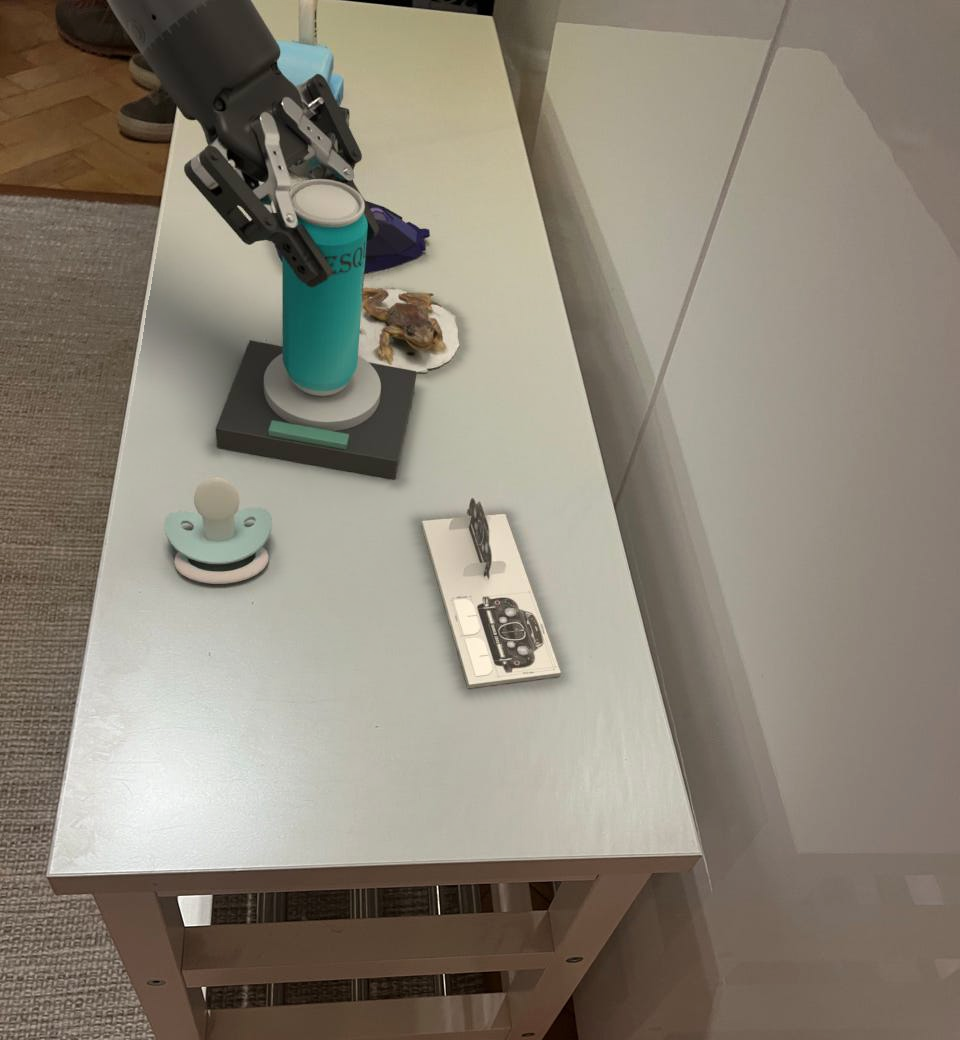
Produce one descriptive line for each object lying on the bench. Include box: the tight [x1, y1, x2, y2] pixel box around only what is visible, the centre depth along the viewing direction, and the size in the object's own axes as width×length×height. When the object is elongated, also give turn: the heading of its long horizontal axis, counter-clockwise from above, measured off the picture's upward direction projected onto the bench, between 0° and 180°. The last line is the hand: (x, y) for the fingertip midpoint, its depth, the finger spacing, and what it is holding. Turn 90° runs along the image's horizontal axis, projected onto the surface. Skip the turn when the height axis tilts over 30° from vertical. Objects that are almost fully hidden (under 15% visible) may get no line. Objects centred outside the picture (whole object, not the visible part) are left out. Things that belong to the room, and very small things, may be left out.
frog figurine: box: [358, 287, 461, 374], centre depth 87 cm, size 12×12×4 cm
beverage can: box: [281, 179, 368, 396], centre depth 72 cm, size 6×6×15 cm
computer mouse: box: [274, 200, 431, 275], centre depth 94 cm, size 9×15×4 cm, turn 111°
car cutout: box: [420, 497, 562, 689], centre depth 70 cm, size 15×7×4 cm, turn 14°
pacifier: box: [163, 476, 273, 585], centre depth 68 cm, size 7×6×6 cm
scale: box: [215, 339, 418, 480], centre depth 79 cm, size 14×11×3 cm
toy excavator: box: [276, 0, 351, 171], centre depth 98 cm, size 9×17×17 cm, turn 174°
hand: (345, 258), depth 69 cm, fingers closed on beverage can, 5 cm apart
